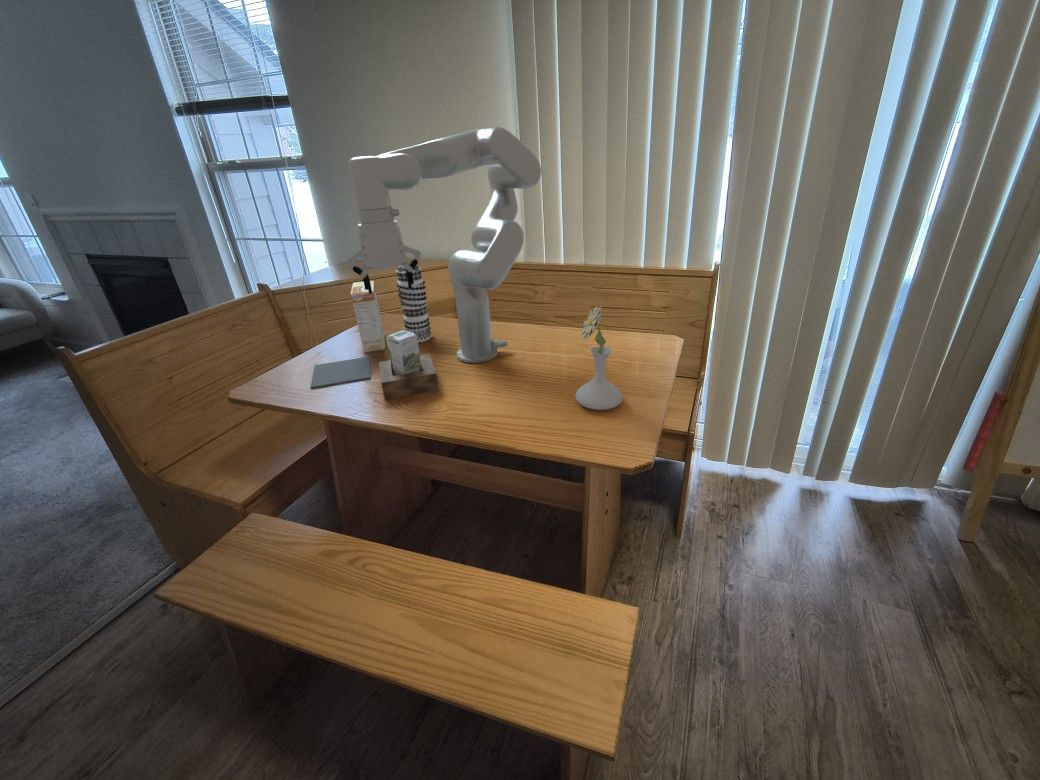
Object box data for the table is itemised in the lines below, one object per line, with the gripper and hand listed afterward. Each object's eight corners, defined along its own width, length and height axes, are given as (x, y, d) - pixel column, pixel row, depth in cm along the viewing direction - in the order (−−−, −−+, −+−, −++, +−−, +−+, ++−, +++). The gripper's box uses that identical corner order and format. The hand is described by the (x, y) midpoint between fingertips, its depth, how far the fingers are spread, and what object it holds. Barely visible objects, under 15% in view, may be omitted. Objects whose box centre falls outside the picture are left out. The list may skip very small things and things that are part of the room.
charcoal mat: (369, 358, 141) (369, 356, 141) (371, 378, 128) (370, 376, 127) (315, 366, 137) (314, 365, 137) (310, 389, 123) (310, 387, 123)
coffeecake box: (364, 337, 158) (352, 282, 149) (385, 334, 160) (374, 280, 151) (362, 352, 146) (349, 293, 137) (385, 349, 147) (373, 290, 138)
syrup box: (411, 377, 127) (402, 329, 120) (424, 382, 124) (416, 333, 117) (394, 385, 123) (384, 335, 116) (408, 390, 120) (398, 339, 113)
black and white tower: (434, 341, 152) (423, 266, 140) (406, 344, 150) (392, 269, 139) (432, 332, 160) (422, 260, 148) (405, 335, 158) (393, 263, 146)
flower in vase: (581, 389, 116) (583, 293, 104) (626, 395, 112) (633, 296, 101) (567, 413, 105) (568, 310, 94) (616, 421, 101) (623, 314, 90)
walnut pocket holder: (431, 369, 131) (429, 354, 129) (439, 390, 119) (436, 373, 117) (382, 378, 127) (378, 362, 125) (384, 400, 116) (381, 382, 113)
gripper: (412, 211, 109) (423, 282, 117) (337, 218, 105) (354, 290, 113) (415, 214, 102) (427, 289, 110) (336, 222, 98) (353, 298, 106)
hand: (390, 289), depth 111 cm, fingers open, 9 cm apart
